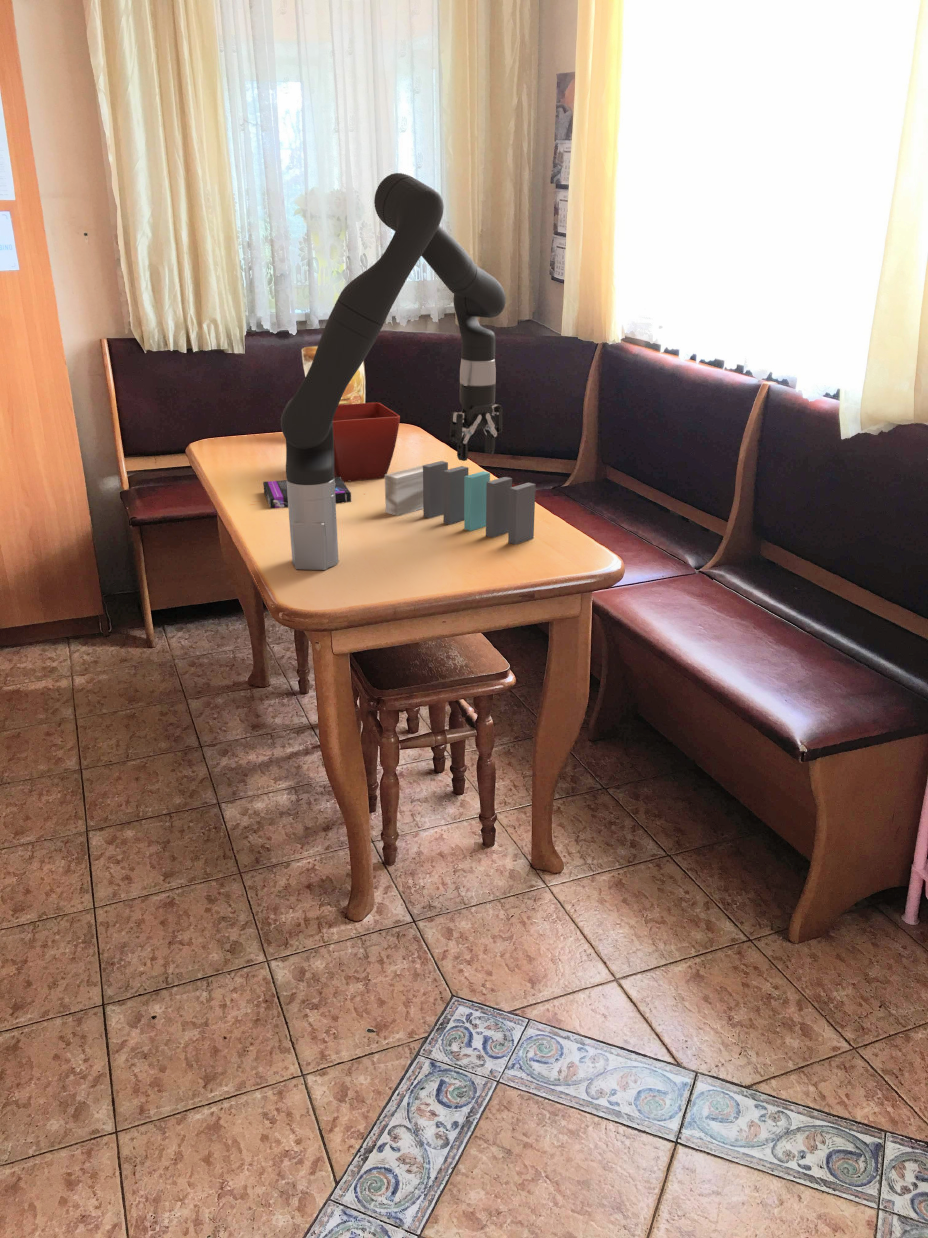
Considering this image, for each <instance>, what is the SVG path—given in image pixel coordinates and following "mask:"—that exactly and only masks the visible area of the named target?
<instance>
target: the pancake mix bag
mask: <svg viewBox="0 0 928 1238" xmlns="http://www.w3.org/2000/svg"><path fill="white" fill-rule="evenodd" d="M317 347H318V345H311V346H310V345H309V346H305V347H303V348H301V350H300V352H301V360H302V369H303V372H304V378H305V377H306V375H307V373H308V371H309V369H310V367H311V364H312V362H313V359H314V356H315V353H316V350H317ZM365 369H366V368H365V360H364V361H363V362H362V364H361V366H360V367H359V369H358V370H357V372H356V373H355V375H354V376H353V378H352V379H351V381H350V382H349V384H348V385H347V387H346V389H345V391H344V393H343V395H342V397H341V400H340V402H339V405H343V404H359V403H366V371H365Z"/></svg>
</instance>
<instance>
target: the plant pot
mask: <svg viewBox="0 0 928 1238" xmlns="http://www.w3.org/2000/svg"><path fill="white" fill-rule="evenodd" d="M400 419H401V415H399V414H398V413H396V412H395V411H393V410H392V409H390V408H388V407H387V406H385V405H384V404H382V403H381V402H365V403H359V404H343V405H338V407H337V410H336V412H335V415H334V418H333V436H334V477H341V479H342V481H343V482H344V483H345V482H355V481H367V480H375V479H385V475H386V474H388V471H389V470H390V465H391V462H392V459H393V456H394V453H395V448H396V445H397V444H396V443H397V439H398V433H399V430H400V429H399V428H400V421H401V420H400Z"/></svg>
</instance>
